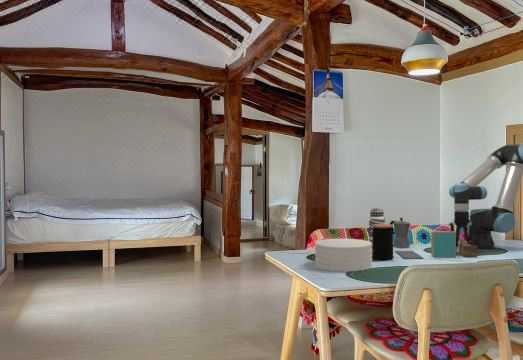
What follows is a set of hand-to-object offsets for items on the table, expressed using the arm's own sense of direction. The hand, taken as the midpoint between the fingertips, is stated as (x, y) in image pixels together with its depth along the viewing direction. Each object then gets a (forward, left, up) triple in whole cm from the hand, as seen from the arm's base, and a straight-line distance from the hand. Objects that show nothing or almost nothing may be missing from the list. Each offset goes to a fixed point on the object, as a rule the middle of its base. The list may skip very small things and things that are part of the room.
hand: (461, 252), depth 262 cm
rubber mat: (+31, +6, 0) cm, 32 cm away
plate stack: (+70, +33, -1) cm, 77 cm away
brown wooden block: (0, +3, 0) cm, 3 cm away
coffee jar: (+47, +16, -1) cm, 50 cm away
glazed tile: (+14, +12, 0) cm, 19 cm away
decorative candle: (+46, -5, -1) cm, 46 cm away
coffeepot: (+29, -22, -1) cm, 36 cm away
